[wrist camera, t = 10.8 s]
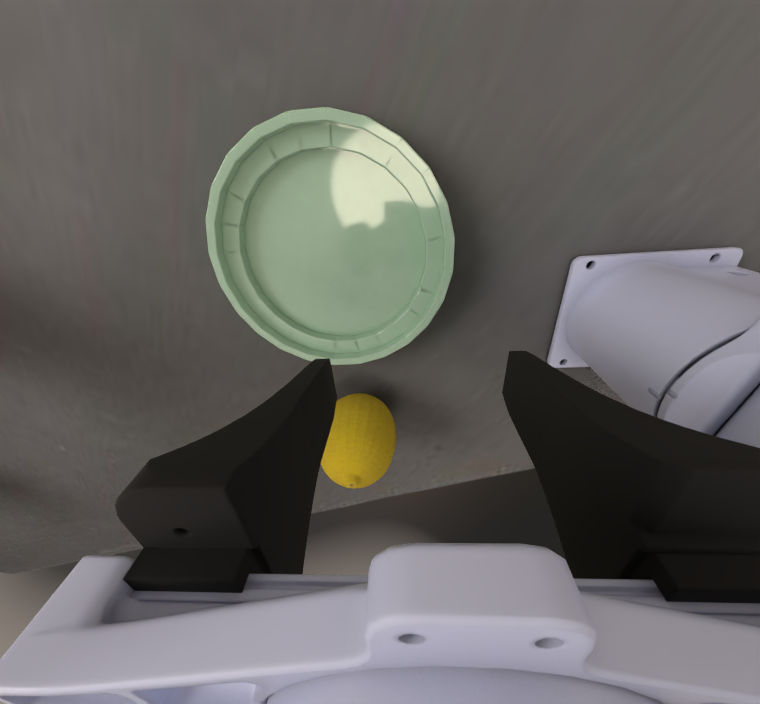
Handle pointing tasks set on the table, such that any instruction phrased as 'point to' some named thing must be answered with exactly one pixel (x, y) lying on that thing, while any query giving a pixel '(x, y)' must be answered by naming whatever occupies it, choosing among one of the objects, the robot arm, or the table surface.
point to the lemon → (359, 441)
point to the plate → (330, 236)
